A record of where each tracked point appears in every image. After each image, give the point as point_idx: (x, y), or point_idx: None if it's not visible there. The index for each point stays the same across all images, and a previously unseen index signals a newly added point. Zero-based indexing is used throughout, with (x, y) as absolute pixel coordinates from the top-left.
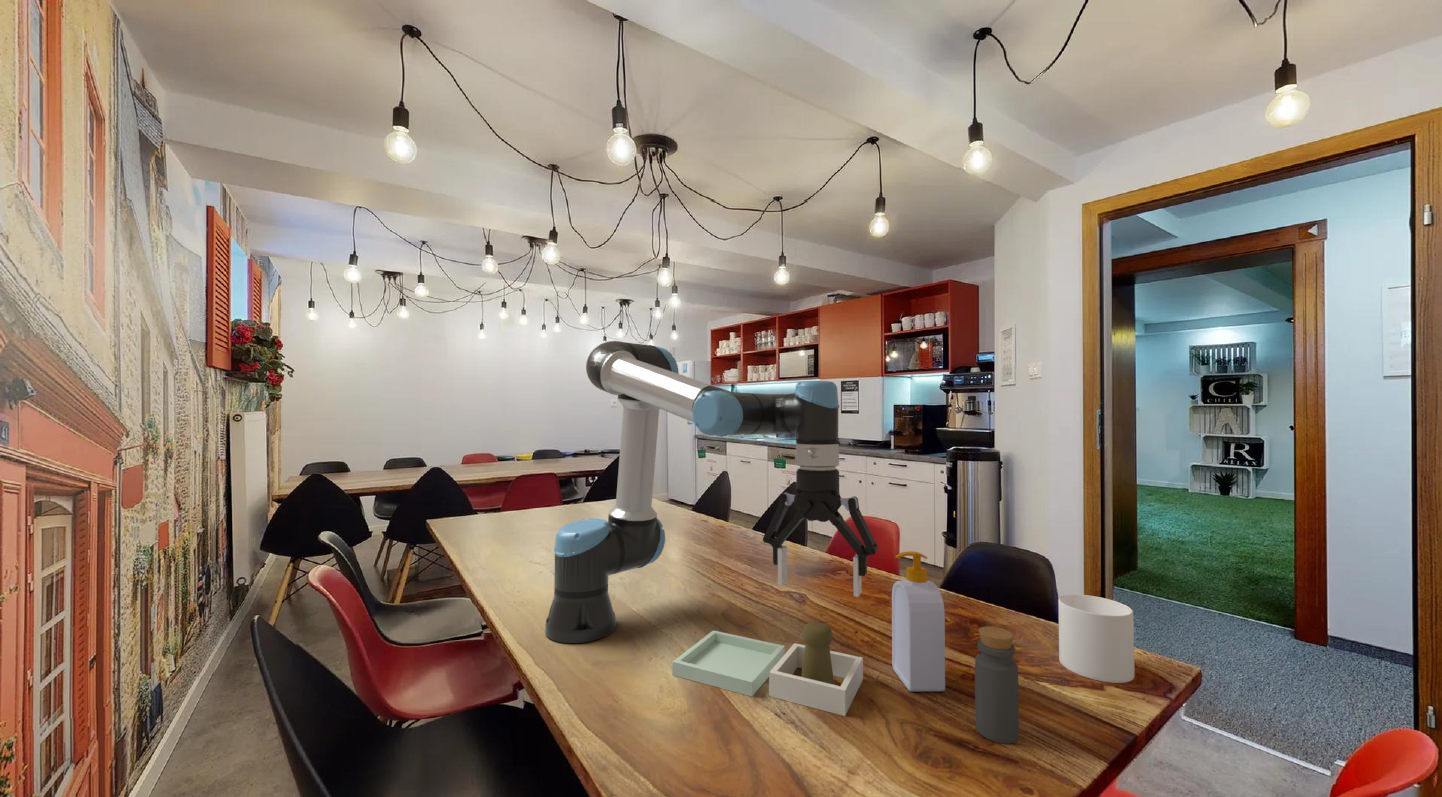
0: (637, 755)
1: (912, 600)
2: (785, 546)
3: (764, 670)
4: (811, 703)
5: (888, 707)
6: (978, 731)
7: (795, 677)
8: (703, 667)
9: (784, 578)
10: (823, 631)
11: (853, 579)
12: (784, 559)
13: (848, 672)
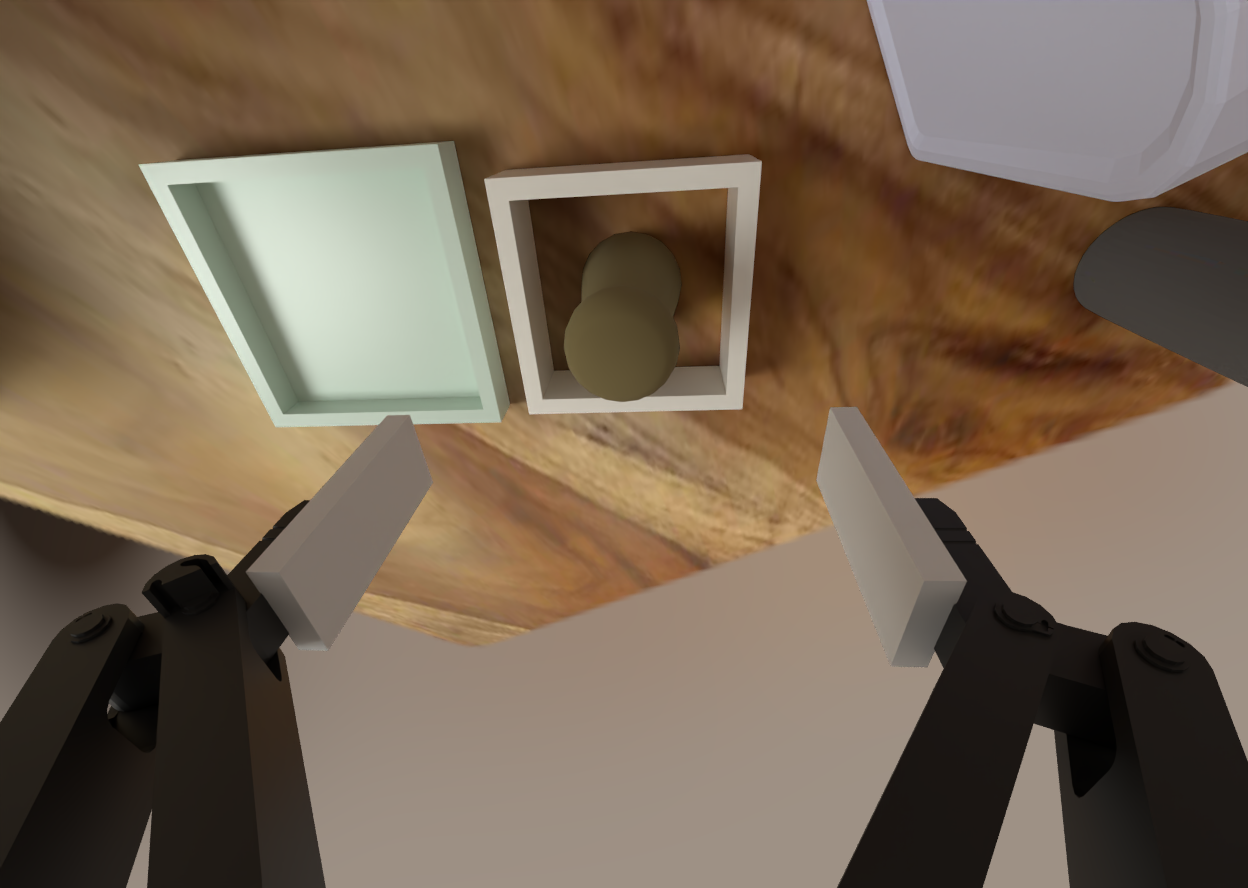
0: (470, 603)
1: (1191, 176)
2: (289, 590)
3: (485, 342)
4: None
5: (837, 286)
6: (1075, 291)
7: (602, 407)
8: (356, 415)
9: (410, 464)
10: (655, 385)
11: (841, 542)
12: (354, 540)
13: (732, 308)
